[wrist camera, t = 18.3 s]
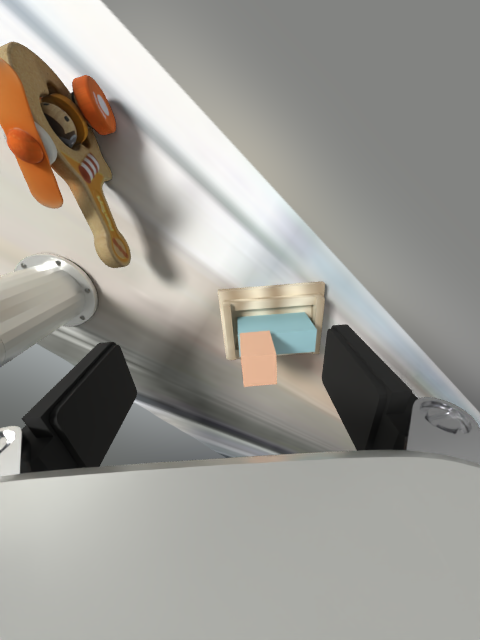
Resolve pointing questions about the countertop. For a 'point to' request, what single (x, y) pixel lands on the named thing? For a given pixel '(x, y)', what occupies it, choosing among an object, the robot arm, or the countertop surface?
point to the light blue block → (282, 331)
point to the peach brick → (258, 358)
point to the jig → (269, 308)
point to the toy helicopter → (60, 141)
